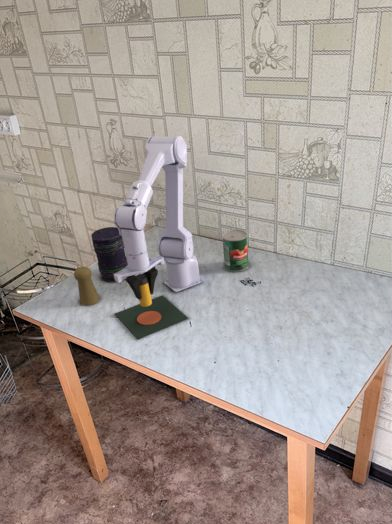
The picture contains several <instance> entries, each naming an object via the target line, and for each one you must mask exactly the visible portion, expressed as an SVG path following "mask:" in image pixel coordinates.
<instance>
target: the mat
mask: <svg viewBox="0 0 392 524" xmlns="http://www.w3.org/2000/svg"><path fill="white" fill-rule="evenodd" d="M151 300H152V304H151V305H149V306H146V307H143V306H141V305H140V303H139V304H136V305H134V306H133V305H132V306H130V307H128V308H126V309H122V310H120V311H118V312H115V313H114V315H115V316H116V318H117V319H118V320H119V321H120V322H121V323H122V324H123V325H124V326H125V328H126V329H128V331H129V332H130V333H131V334H132V335H133V336H134V338H136V339H137V340H140V339H143V338H145V337H147V336H149V335H152V334H155V333H157V332H160V331H161V330H164V329H167V328H169V327H173V326H174V325H176V324H179V323H182V322H184V321H187V320H189V317H188V316H187V315H186V314H184V313H183V312H182V311H181V310H180V309H179V308H178V307H176V306H175V304H174V303H172V302H171V301H170V300H169V299H167V298H166V297H165V296H164V295H163V294H162V295H160V296H157V297H154V298H151Z"/></svg>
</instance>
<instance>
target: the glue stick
mask: <svg viewBox="0 0 392 524" xmlns="http://www.w3.org/2000/svg"><path fill="white" fill-rule="evenodd" d="M135 276H136V277H137V279H139V280H140V293H141V299H140V300H139V299H138V301H139V304H140V305H141V306H143V307H146V306H149V305H151V304H152V300H151V299H152V295H151V294H150V289H149V283H148V277H147V275H146V274H143V273H141V274H136V275H135Z"/></svg>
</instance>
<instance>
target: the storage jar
mask: <svg viewBox="0 0 392 524" xmlns="http://www.w3.org/2000/svg"><path fill="white" fill-rule="evenodd" d="M90 236H91V242H92V246H93V251H94V253H95V255H96V259H97V266H98V271H99V274H100V278H101V280H102V281H103V282H106V283H117V282H116V281H115V278H114V274H115V273H117V272H119V271H121V270H122V269H124V268H125V267H127V266H128V263H127V258H126V253H125V248H124V243H123V238H122V236H121V235H120V234H119V230H118V228H117V227H116V226H108V227H102V228H99V229H97V230H94V232H92V233H91V235H90Z"/></svg>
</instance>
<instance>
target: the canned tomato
mask: <svg viewBox="0 0 392 524" xmlns="http://www.w3.org/2000/svg"><path fill="white" fill-rule="evenodd" d="M221 238H222V250H223V265H224V269H225V270H226V271H228V272H231V273H238V272H243V271H245V270H247V269H248V268H249V266H250V265H249V248H248V247H249V245H248V233H247V232H246V231H244V230H241V229H232V230H228V231H225V232H223V234H222V235H221Z"/></svg>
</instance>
